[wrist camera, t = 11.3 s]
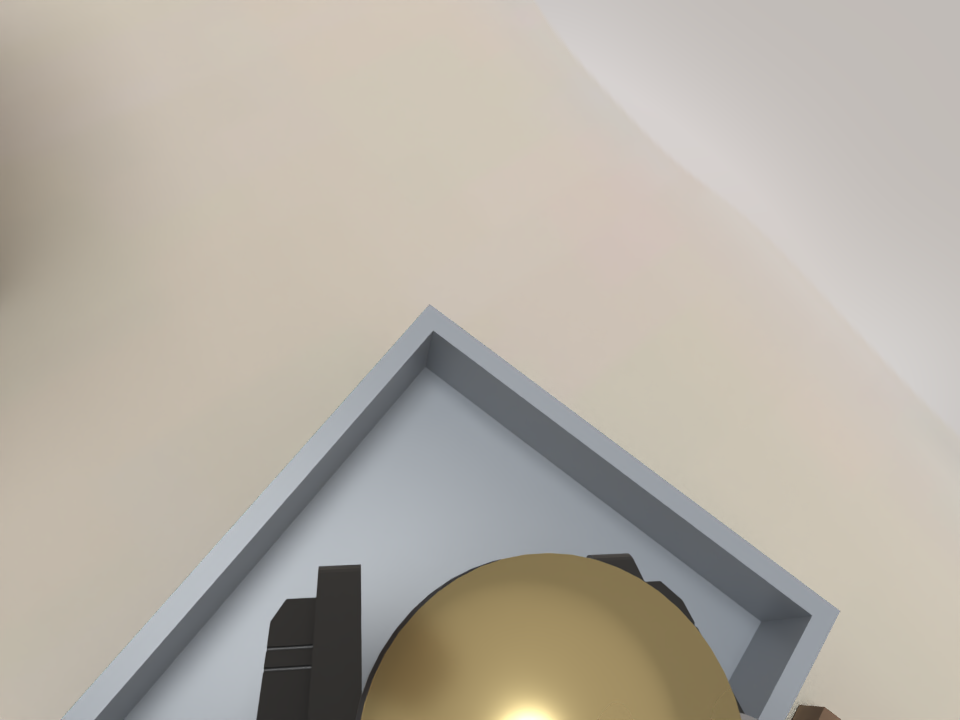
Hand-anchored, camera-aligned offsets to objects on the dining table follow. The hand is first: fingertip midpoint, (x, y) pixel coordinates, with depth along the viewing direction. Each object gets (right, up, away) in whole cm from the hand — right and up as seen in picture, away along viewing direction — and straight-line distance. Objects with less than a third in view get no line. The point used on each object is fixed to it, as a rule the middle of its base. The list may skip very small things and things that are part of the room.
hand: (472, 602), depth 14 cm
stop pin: (0, -3, +3) cm, 4 cm away
